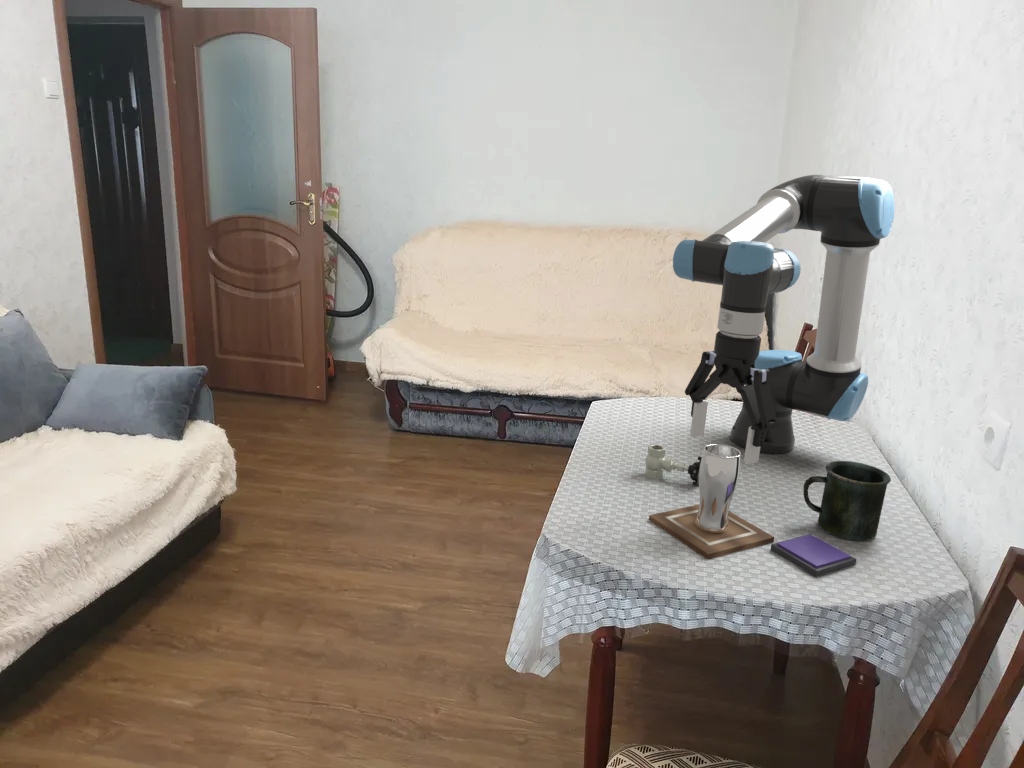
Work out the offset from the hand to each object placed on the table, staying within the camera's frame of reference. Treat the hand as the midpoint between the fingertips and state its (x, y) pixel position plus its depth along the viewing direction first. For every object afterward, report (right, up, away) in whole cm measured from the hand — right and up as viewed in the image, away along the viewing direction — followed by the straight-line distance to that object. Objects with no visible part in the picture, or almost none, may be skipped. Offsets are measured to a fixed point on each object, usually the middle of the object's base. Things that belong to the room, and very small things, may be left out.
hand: (722, 448), depth 139 cm
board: (-1, -16, +4) cm, 16 cm away
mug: (+24, -16, +9) cm, 30 cm away
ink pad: (+15, -19, -3) cm, 24 cm away
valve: (-4, -9, +27) cm, 29 cm away
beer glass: (-1, -15, +4) cm, 16 cm away
